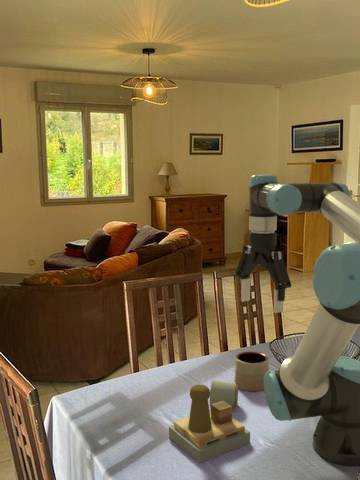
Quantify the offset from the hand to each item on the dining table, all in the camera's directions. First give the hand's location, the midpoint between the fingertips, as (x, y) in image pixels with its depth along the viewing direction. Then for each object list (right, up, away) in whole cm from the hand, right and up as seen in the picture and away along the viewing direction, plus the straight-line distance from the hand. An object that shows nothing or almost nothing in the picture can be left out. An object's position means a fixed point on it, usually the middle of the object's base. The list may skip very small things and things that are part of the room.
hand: (261, 306), depth 142 cm
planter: (0, -29, +23) cm, 37 cm away
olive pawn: (-18, -30, -12) cm, 37 cm away
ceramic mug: (-10, -31, +10) cm, 34 cm away
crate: (-12, -29, -8) cm, 32 cm away
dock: (-15, -34, -10) cm, 38 cm away
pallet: (-15, -31, -10) cm, 36 cm away
